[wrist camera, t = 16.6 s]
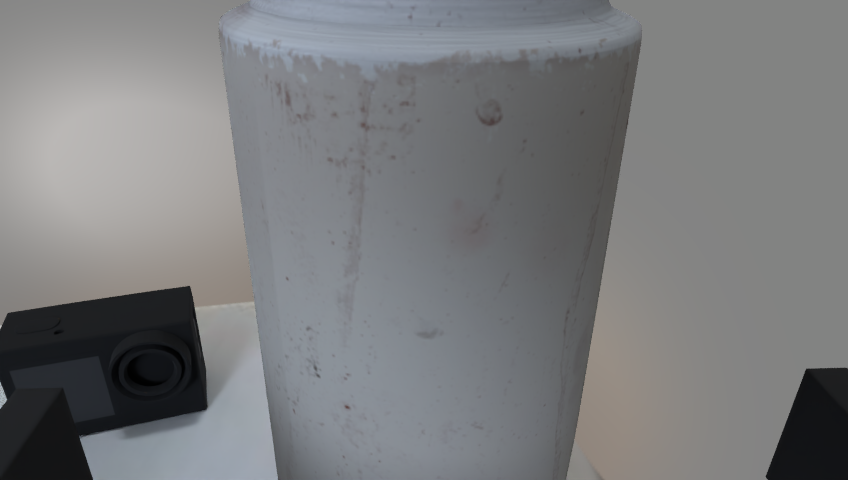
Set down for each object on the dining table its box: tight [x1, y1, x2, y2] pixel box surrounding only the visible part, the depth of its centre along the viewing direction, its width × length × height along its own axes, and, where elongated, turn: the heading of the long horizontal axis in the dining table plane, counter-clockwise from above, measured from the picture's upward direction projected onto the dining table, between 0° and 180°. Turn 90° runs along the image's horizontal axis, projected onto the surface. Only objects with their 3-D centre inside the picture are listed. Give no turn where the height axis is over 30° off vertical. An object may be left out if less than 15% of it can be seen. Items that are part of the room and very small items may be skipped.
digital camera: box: [0, 286, 207, 435], centre depth 38 cm, size 10×5×7 cm, turn 109°
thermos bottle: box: [219, 0, 642, 480], centre depth 16 cm, size 8×8×28 cm
